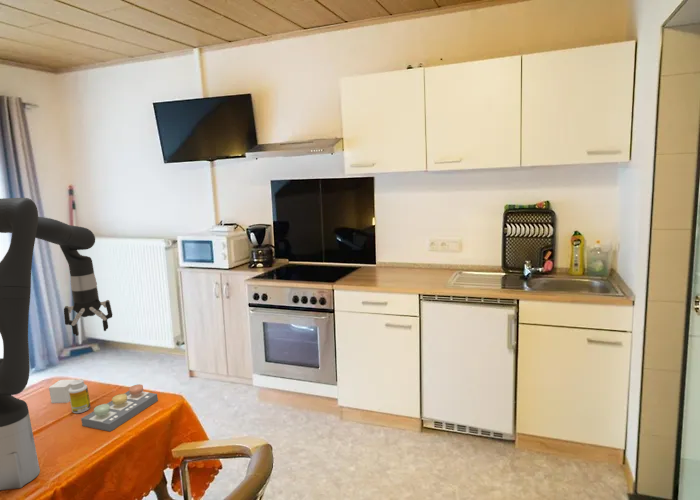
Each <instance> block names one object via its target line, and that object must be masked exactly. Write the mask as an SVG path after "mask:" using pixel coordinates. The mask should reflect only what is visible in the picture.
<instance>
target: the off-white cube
mask: <svg viewBox="0 0 700 500" xmlns="http://www.w3.org/2000/svg"><path fill="white" fill-rule="evenodd" d="M75 380H77V379H59V380H58V381H56V382H55V383H54V384H52V385H50V386H49V387H48V391H49V396H50V401H51V404H66V403H67V404H68V403H69V402H70V397H69V389H70V388H71V387H70V383H71V382H72V381H75Z"/></svg>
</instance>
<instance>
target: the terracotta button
mask: <svg viewBox="0 0 700 500" xmlns="http://www.w3.org/2000/svg"><path fill="white" fill-rule="evenodd" d="M128 391H129V393H130V394H131V395H136V394H139V393H141V392H144V386H143V384H133V385H132V386H130V387H129V388H128Z"/></svg>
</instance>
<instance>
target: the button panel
mask: <svg viewBox="0 0 700 500" xmlns="http://www.w3.org/2000/svg"><path fill="white" fill-rule="evenodd" d="M123 394H126V395H127V401H126V402H125V403H123V404H119V405H114V404H113V402H112V400H111V401H109V402H107V403H106V404H109V406H110V411H109V412H108V413H107V414H104V415H100V416H96V415H95V414H94V410H93V411H92V412H90V413H88V414H86V415H85V416H83V417H81V419H80V421H81V425H82V427H85V428H90V429H91V428H92V429H96V430H102V431H107V432H109V433H110V432H113V430H115V429H117V428H119V427H120V426H122V425H123V424H124V423H126V422H128V421H130V420H131V419H132V418H135V416H137V415H138V414H140V413H142V412H143V411H145V410H146V409H147V408H149V407H150V406H152V405H154V403H157V402H158V401H159V399H158V393H153V392H149V391H143V392H141V393H139V394H136V395H131V394H130V393H129V390H127V391H126V392H124V393H123Z"/></svg>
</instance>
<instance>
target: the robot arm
mask: <svg viewBox="0 0 700 500" xmlns="http://www.w3.org/2000/svg"><path fill="white" fill-rule="evenodd" d="M0 233H1V234H11V238H10V244H9V246H8V250H7V252H6V253H5V254H4V257H3V258H2V259H1V261H0V335H1V338H2V344H3V347H2V348H3V349H2V351H3V355H2V358H0V491H4V490H14V489H22V488H23V486H25V485H26V484H28V483H30V482H31V481H33V480H34V479H35V478H37V477H38V476H39V474H40V472H41V470H40V464H39V459H38V454H37V449H36V442H35V438H34V433H33V432H34V431H33V428H32V422H31V417H30V412H29V406H28V403H27V401H24V400H22V399H20V398H18V397H15V396H16V395H19V394H20V393H22V392H23V391H24V390H25V388H26V387H27V385H28V381H29V380H30V371H31V370H30V364H31V363H30V349H29V319H30V318H29V317H30V315H29V314H30V305H31V294H32V293H31V290H32V289H31V288H32V267H33V265H32V264H33V256H34V250H35V243H36V239H39V240H42V241H46V242H49V243H52V244H55V245H58V246H59V248H60V250H61V252H62V253H63V256H64V257H65V260H66V263H67V264H68V269H69V275H70V287H71V293H72V294H71V295H72V299H73V301H72V302H73V305H71V306H68V305H65V306H64V308H63V316H64V324H65V325H66V326H68V325H69V326H71V329H72V333H73V335H75V336H79V328H78V321H79V320H80V318H86V317H94V316H95V315H96V316H97V317H98V318H100V319H101V320H102V328H103V332H106V331H107V330H108V329H109V323H108V320H109V319H111V318H113V312H112V311H113V310H112V306H111V301H110V300H108V299H107V300H105V301H100V299H99V291H98V286H97V285H98V283H97V279H96V276H95V271H94V265H93V260H92V258H91V257H90V256H87V255H82V254H80V253H79V251H81V250H82V251H85V250H89V249H92V247H93V246H95V243H96V236H95V234H94V233H93V231H92V230H91V229H89V228H87V227H83V226H79V225H70V224H67V223H65V222H63V221H60V220H58V219H53V218H51V217H43V216H39V211H38V207H37V205H36V203H35V202H34V201H33V199H31V198H28V197H8V198H0ZM101 306H103V307H104V308H106V312H107V314H105V313H104V312H103V311H102V310H101ZM72 310H73V311H74V312H75V313H77V314H76V315H75V317H74V318H73V319H72V320H71V318H70V317H71V316H70V314H71V313H72ZM14 395H15V396H14Z"/></svg>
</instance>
